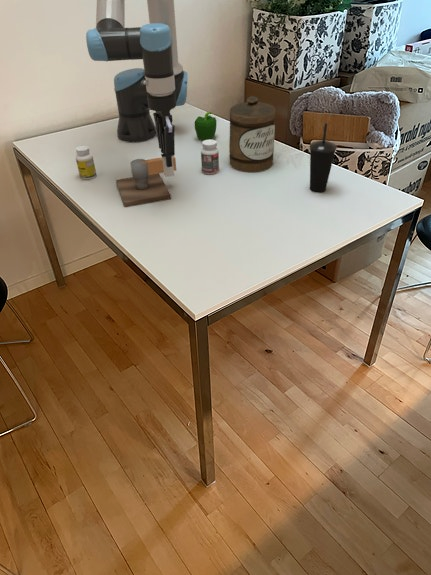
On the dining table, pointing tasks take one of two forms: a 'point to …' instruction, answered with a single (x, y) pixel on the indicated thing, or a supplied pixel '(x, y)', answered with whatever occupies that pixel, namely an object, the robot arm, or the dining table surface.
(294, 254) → the dining table surface
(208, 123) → the bell pepper
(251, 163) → the wooden container
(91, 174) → the supplement bottle
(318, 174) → the drinking cup
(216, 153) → the pill bottle
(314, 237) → the dining table surface
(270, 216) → the dining table surface
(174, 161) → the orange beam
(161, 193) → the base
